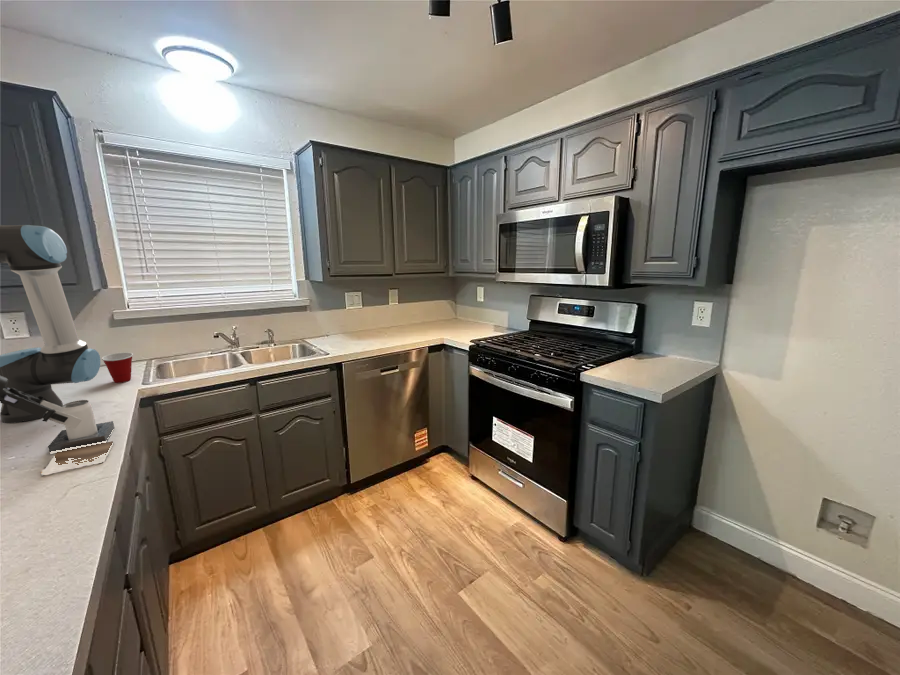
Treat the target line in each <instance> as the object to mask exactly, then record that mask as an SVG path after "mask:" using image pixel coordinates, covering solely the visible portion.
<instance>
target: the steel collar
mask: <svg viewBox="0 0 900 675" xmlns="http://www.w3.org/2000/svg"><path fill="white" fill-rule="evenodd" d="M96 426H97V431H98V432H97V434H96V435H91V436H86V437H81V438H75V439H70V440H68V436H67V432H66V429H61V431H60V432H59V433H58V434H57V435H56V436H55V438H54V439H53V440H52V441H51V442H50V444H48V446H47V448H48V451H49V452H51V451H56V450H62V449H65V448H70V447H76V446H81V445H87V444H92V443H97V442H102V441H106V440H107V438H108V437H109V435H110V434H111V432H112V430H113V429H114V430H115V424H114V421H113V420H111V421H107V422H105V421H104V422H101V423H96ZM114 430H113V431H114ZM112 433H113V432H112ZM111 435H112V434H111ZM111 435H110V436H111ZM109 438H110V437H109Z"/></svg>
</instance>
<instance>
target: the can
mask: <svg viewBox="0 0 900 675" xmlns="http://www.w3.org/2000/svg"><path fill="white" fill-rule="evenodd" d="M89 401H90V400H88V399H80V400H74V401H70V402H66V403H65V404H64V403H63V406H62V407H63V409H62V412H63V413H66V414H68V415H71V416H74V417H76V418H79V419H82V421H81V422H80V423H79V425H78V426H77V427H76V428H75V429H74V428H71V427H68V426H66V425H64V428H65V430H66V432H67V436H68V440H70V439H75V438H81V437H86V436H91V435H96V434H97V432H98V431H97V426H96V424H97V422H96V418H95V413H94V409H93V406H92V404H91V403H90V402H89Z"/></svg>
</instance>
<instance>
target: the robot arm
mask: <svg viewBox="0 0 900 675" xmlns="http://www.w3.org/2000/svg"><path fill="white" fill-rule="evenodd" d="M67 254H68V249H67V246H66V244H65V241H64V240H63V238H62V237H61V236H60V235H59V234H58V233H57V232H55V230H53V229H51V228H49V227H47V226H43V225H42V226H41V225H32V224H31V225H30V224H22V225H21V224H18V225H17V224H15V225H13V224H12V225H8V224H7V225H6V224H5V225H3V224H0V264H8V265H7V266H8V267H9V269H10V272H13V273H15V274H17V275H19V277H20V280H21V283H22V286H23V288H24V291H25V293H26V297H27V299H28V302H29V305H30V308H31V311H32V313H33V316H34V318H35V321H36V324H37V327H38V329H39V333H40V335H41V338H42V341H43V343H44V345H43V346H42V347H40V346H39V347H38V346H37V347H31V348H25V349H21V350H15V351H11V352H7V353H3V354H0V403H1V408H0V421H1V423H4V422H5V423H6V424H11V423H12V424H15V423H14V422H16V423H22V421H24V422H29V421H32V420H33V421H34V420H38V419H42V420H41V421H42V422H45V423H47V422H48V421H51V422H55V423H57V424H61V425H63V426H65V425H66V426H68V427H71V428H74V429H75V428H76V427H77V426H78V425H79V423H80V422H81V421H82V419H79V418H76V417H74V416H71V415H68V414H66V413H63V412H62V409H63V407H62V406H63V405H64V403H63V401H62V400H61V399H60V397H59V396H58V394H57V393H56V392H55V391H54V390H53V388H52V385H60V384H61V385H62V384H63V385H64V384H73V383H74V384H77V383H83V382H89V381H91V380H93V379H94V378H95V377H96V376H97V375H98V373H99V371H100V367H101V355H100V353H99V352H98V350H96V349H93V348H89V347H88V344H87V342H86V341H85V340H83V339H80V337H79V335H78V331H77V329H76V324H75V322H74V318H73V316H72V313H71V310H70V307H69V303H68V301H67V298H66V295H65V292H64V288H63V285H62V282H61V280H60V276H59V271H60V270H61V269H62V268H63V266H62V263H63V262H65V261H66V260H67V257H68V256H67Z"/></svg>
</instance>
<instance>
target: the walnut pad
mask: <svg viewBox="0 0 900 675" xmlns="http://www.w3.org/2000/svg"><path fill="white" fill-rule="evenodd" d="M112 443H113V444H114V441H113V440H112V441H107V442H106V443H101V444H96V445H91V446H86V447H81V448H77V449H72V450H67V451H62V452H57V453H56V454H53V456H55V458H56V461H55V462H56V463H58V465H62V464H68V463H66V462H65V461H69V460H68V458H74V459H77V460H74V459H71V460H74V461H72V463H73V462H78V463H83V462H80V461H82V460H84V459H86V460H87V459H88V461H89V462H92V461H94V459H92V458H94V457H98V456H100V455H102V454H104V453H107V452H108V450H109V448H110V446H111V445H112ZM105 455H106V454H105ZM78 458H81V459H78ZM98 458H99V457H98ZM90 459H91V460H90ZM95 459H97V458H95ZM84 462H87V461H84ZM59 463H60V464H59ZM78 463H75V464H77V465H79V464H78Z"/></svg>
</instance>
